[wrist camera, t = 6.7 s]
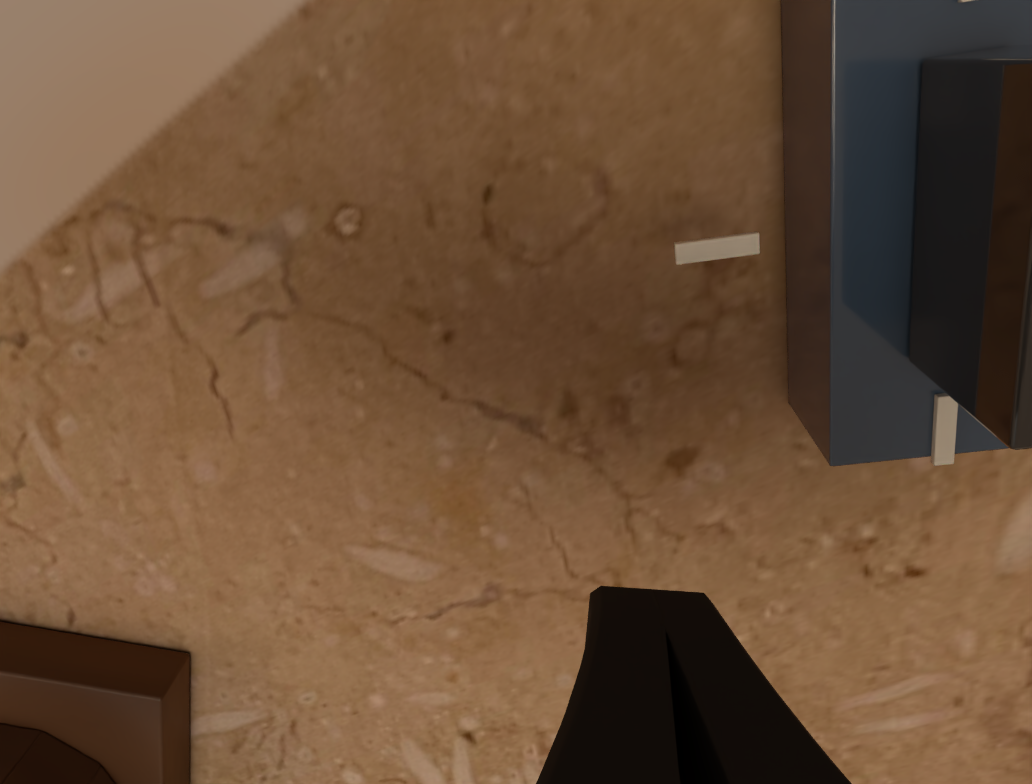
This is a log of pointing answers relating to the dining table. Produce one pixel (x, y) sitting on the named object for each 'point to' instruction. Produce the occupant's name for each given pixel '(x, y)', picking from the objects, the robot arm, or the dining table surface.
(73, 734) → the button block
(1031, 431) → the tap handle
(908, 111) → the panel
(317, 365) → the dining table surface
